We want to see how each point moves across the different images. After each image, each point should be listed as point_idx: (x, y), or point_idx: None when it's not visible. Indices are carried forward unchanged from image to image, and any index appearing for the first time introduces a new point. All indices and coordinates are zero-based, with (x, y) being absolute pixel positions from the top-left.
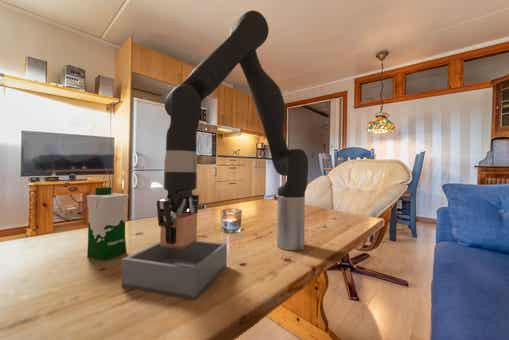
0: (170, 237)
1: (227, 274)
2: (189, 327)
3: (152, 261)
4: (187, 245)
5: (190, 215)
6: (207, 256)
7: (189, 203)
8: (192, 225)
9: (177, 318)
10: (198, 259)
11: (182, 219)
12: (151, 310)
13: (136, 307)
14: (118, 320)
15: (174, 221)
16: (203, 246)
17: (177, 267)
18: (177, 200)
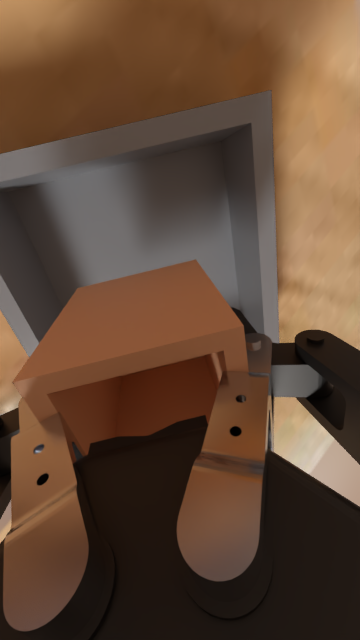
0: (245, 318)
1: (38, 126)
2: (331, 37)
3: (264, 309)
4: (158, 269)
5: (123, 360)
6: (129, 149)
7: (78, 502)
8: (105, 318)
9: (309, 107)
10: (52, 292)
11: (242, 326)
12: (300, 203)
13: (300, 246)
14: (343, 237)
15: (268, 355)
16: (22, 291)
17: (273, 190)
18: (320, 552)
